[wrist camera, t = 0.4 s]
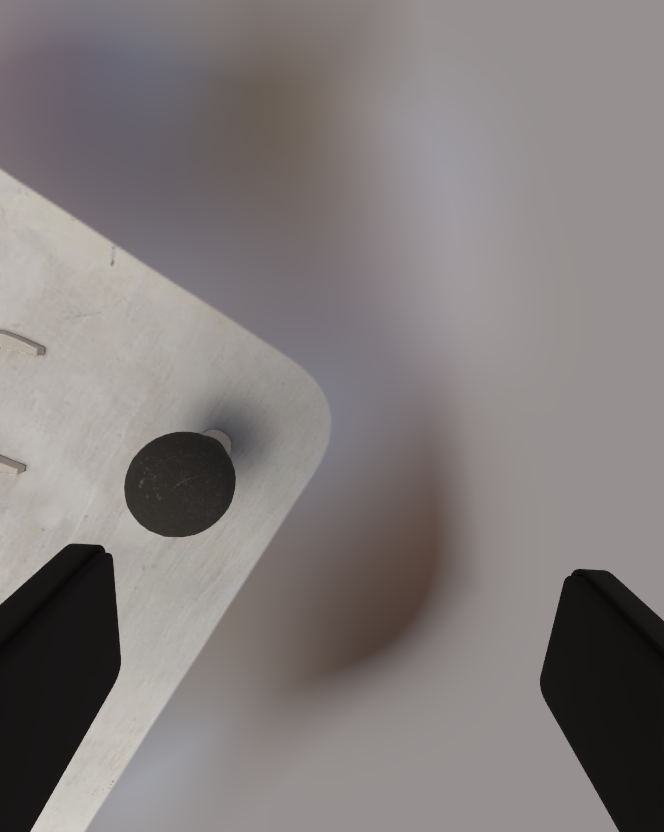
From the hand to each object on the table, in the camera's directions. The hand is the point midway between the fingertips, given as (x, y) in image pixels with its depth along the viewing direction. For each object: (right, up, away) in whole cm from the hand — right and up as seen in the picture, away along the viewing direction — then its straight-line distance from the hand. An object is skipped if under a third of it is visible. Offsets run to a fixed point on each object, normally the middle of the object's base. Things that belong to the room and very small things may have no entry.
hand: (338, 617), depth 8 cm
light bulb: (-8, +2, +20) cm, 22 cm away
